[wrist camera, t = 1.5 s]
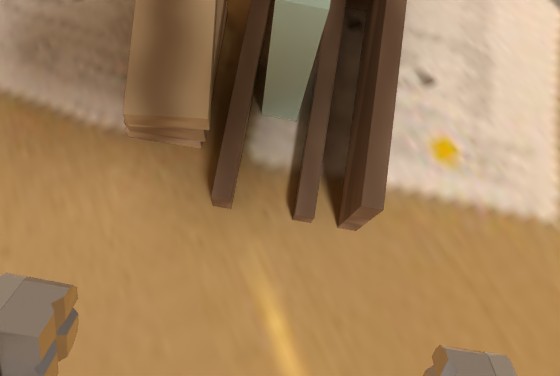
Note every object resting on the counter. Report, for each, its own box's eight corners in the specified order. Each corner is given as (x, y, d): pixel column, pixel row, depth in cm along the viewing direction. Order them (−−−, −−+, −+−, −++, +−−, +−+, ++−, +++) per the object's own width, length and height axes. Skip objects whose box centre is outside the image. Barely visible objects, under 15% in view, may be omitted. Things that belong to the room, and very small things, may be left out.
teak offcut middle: (226, 2, 44) (225, -15, 42) (205, 142, 40) (203, 131, 38) (157, -8, 44) (153, -25, 41) (130, 132, 40) (124, 121, 38)
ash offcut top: (218, -17, 42) (217, -35, 40) (209, 130, 38) (207, 118, 36) (144, -23, 41) (140, -41, 39) (129, 125, 38) (122, 114, 36)
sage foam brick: (304, 69, 44) (341, -66, 29) (296, 121, 43) (329, 9, 28) (271, 62, 44) (289, -76, 29) (261, 114, 43) (275, -1, 28)
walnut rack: (384, 0, 47) (413, -64, 39) (355, 230, 41) (383, 210, 33) (259, -25, 46) (264, -94, 39) (212, 205, 41) (207, 178, 33)
